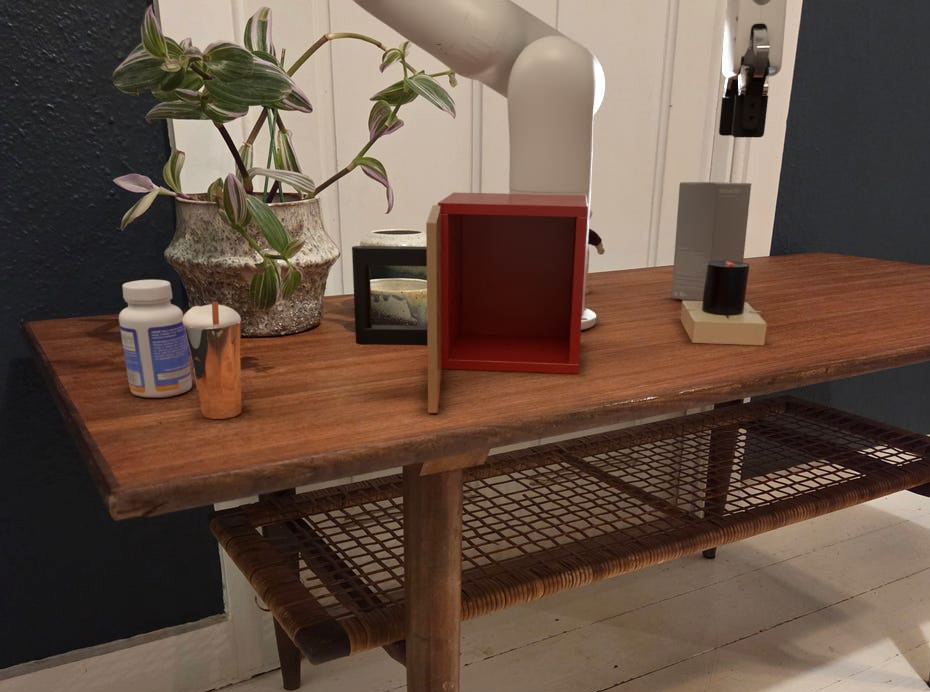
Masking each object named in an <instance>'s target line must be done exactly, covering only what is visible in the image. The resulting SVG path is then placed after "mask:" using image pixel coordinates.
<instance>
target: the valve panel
mask: <svg viewBox="0 0 930 692" xmlns="http://www.w3.org/2000/svg"><path fill="white" fill-rule="evenodd" d="M702 302H703V301H688V300H682V301H681V309H680V322H681V325H682V326H683V328H684V330H685V332H686V333H687V336H688V338H689V340H690V341H691V343H692V344H714V345H741V346H765V342H766V334H767V328H768V323H767V322H766V320H764V319H763V317H761V315H760V314H762V311H761V310H755V309H754V307H752V306H751V305H750V304H749V303H748V302H745V303H744V311H743V313H742V314H738V315H717V314H711V313H707V312H704V311H702Z"/></svg>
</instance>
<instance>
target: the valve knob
mask: <svg viewBox="0 0 930 692" xmlns="http://www.w3.org/2000/svg"><path fill="white" fill-rule="evenodd" d="M749 271H750V264H749V263H747V262H744V261H743V262H737V261H710V262H707V266H706V275H705V284H704V293H703V302H702V311H704V312H707V313H711V314H717V315H738V314H742V313H743V311H744V303H746V302H745V301H746V296H747V295H746V294H747V287H748V279H749Z"/></svg>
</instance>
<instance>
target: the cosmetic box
mask: <svg viewBox="0 0 930 692" xmlns="http://www.w3.org/2000/svg"><path fill="white" fill-rule="evenodd" d="M751 190H752V183H750V182H725V181H723V182H720V181H683V182H682V181H681V182H680V183H679V189H678V201H677V215H676V229H675V244H674V256H673V257H674V258H673V267H672V280H671V281H672V283H671V293H670V294H671V296H670V297H671V298H672V299H675V300H682V301H703V293H704V284H705V275H706V266H707V262H710V261H737V262H743V263H744V257H745V249H746V248H745V247H746V241H747V239H746V238H747V228H748V219H749V210H750V201H751Z"/></svg>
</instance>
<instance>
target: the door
mask: <svg viewBox="0 0 930 692" xmlns="http://www.w3.org/2000/svg"><path fill="white" fill-rule="evenodd" d="M428 214H429V215H428V217H427V220H426V222H425V223H426V224H425V225H426V226H425V227H426V229H425V231H426V233H425V235H426V238H425V239H426V240H425V241H426V246H424V245H423V246H422V245H421V246H418V245H417V246H416V245H415V246H413V245H411V246H410V245H408V246H407V245H395V246H394V245H354V246H351V257H352V258H351V259H352V283H353V285H352V287H353V305H354V306H353V307H354V332H355V333H354V335H355V343H356V345H361V346H377V345H378V346H427V412H428V414H437V413H438V412H439V401H440V390H441V379H442V370H443V369H442V353H441V205H438V204H433V205H432V206H431V208H430V212H429V213H428ZM371 266H372V267H426V321H427V323H426V324H427V325H405V324H404V325H399V324H398V325H396V324H395V325H394V324H393V325H391V324H388V325H387V324H384V325H383V324H373V320H372V293H371V289H372V288H371V287H372V286H371Z"/></svg>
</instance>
